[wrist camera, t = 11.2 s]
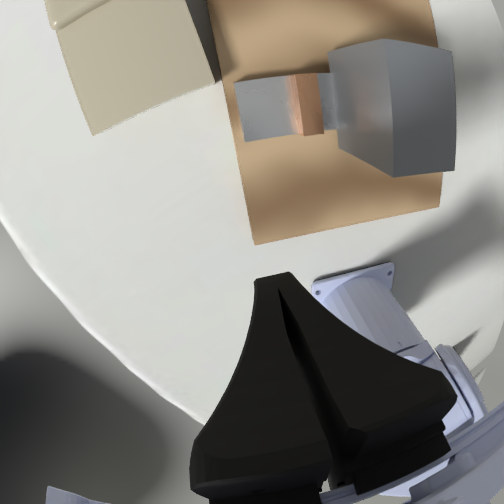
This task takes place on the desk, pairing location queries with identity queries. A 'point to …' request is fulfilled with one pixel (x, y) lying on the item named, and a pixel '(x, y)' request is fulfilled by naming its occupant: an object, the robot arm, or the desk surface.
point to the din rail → (285, 106)
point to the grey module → (395, 105)
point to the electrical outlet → (128, 55)
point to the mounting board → (325, 145)
